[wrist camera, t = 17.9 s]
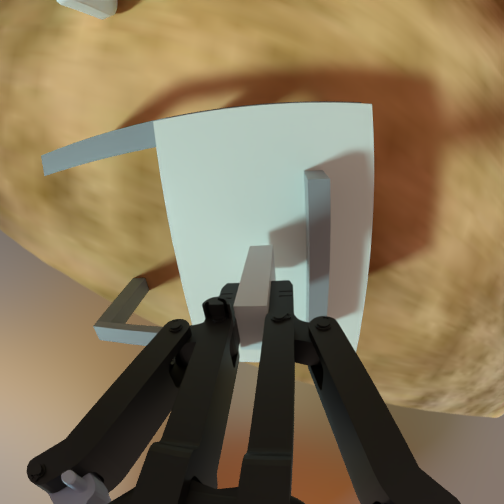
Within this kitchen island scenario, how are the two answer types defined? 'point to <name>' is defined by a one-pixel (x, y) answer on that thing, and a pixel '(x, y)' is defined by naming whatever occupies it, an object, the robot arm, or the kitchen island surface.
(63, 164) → the housing
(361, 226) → the lid
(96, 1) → the cable organizer
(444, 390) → the kitchen island surface
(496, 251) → the kitchen island surface
